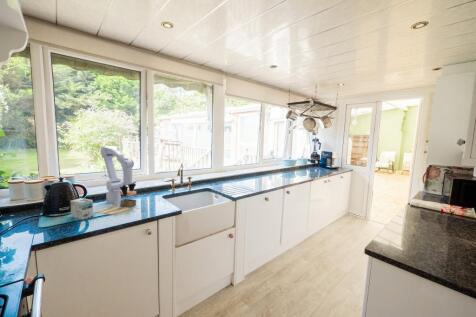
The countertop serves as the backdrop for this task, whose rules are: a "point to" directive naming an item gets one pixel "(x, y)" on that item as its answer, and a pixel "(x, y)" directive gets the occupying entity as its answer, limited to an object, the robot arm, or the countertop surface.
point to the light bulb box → (81, 208)
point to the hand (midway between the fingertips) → (128, 194)
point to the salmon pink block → (129, 193)
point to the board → (114, 210)
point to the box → (128, 202)
